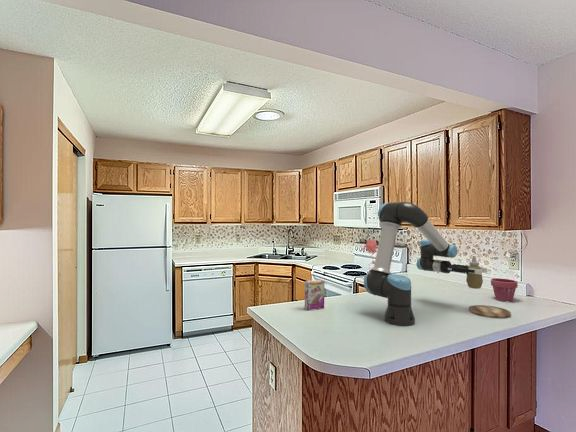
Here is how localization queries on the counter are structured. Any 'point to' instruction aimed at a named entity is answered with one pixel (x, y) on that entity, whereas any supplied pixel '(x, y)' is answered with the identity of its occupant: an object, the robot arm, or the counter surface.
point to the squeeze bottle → (474, 275)
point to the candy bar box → (314, 294)
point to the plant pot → (504, 288)
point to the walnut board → (489, 311)
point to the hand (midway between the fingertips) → (484, 271)
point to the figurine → (370, 249)
